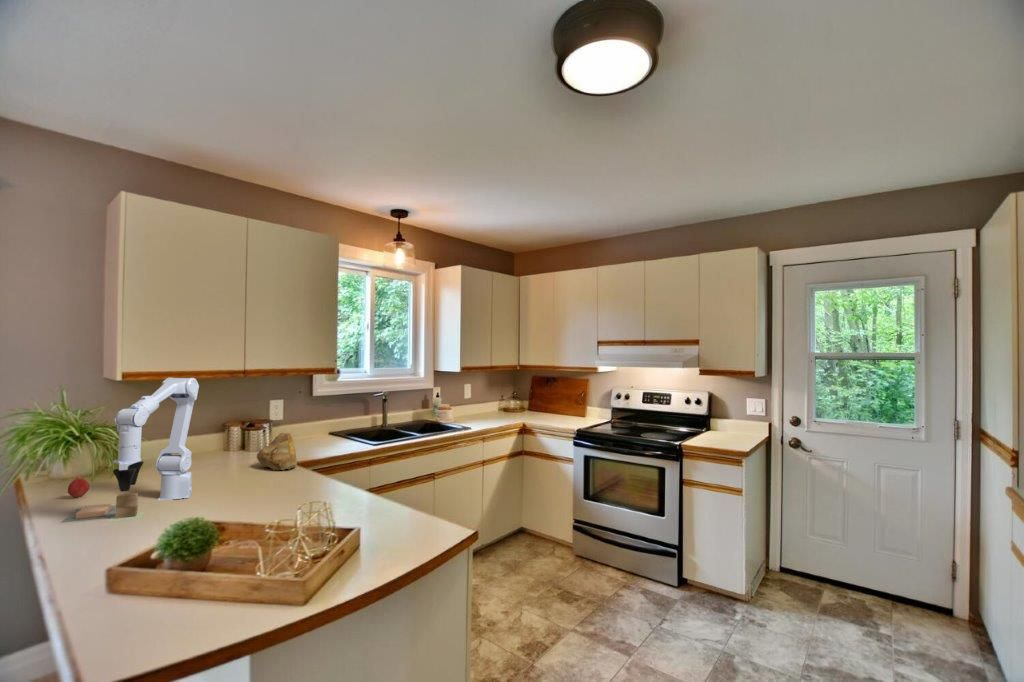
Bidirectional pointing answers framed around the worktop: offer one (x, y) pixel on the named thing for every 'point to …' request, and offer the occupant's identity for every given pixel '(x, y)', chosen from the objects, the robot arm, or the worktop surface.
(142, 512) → the rest pad
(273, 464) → the rough brown rock
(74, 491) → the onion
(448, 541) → the worktop surface
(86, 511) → the tile
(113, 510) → the mat
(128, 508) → the walnut block
